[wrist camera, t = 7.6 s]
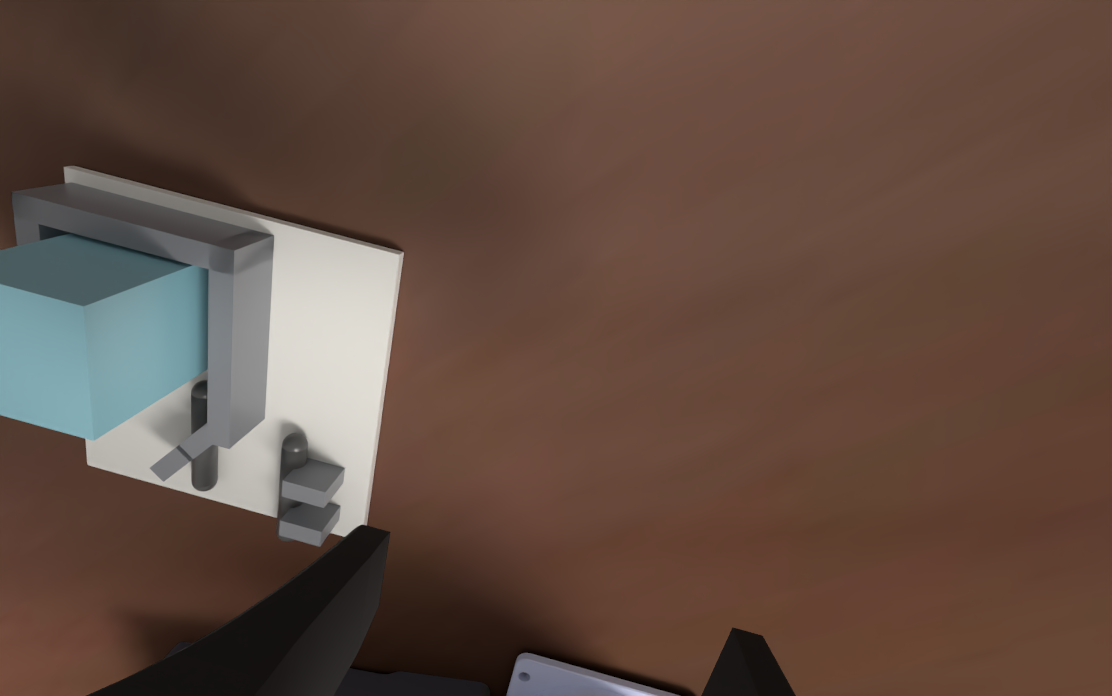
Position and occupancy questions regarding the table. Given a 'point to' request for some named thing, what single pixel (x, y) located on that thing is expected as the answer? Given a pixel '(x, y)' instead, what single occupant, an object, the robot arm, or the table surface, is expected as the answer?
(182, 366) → the pale blue cube
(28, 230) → the end holder
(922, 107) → the table surface
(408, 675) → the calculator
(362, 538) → the robot arm
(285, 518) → the board
